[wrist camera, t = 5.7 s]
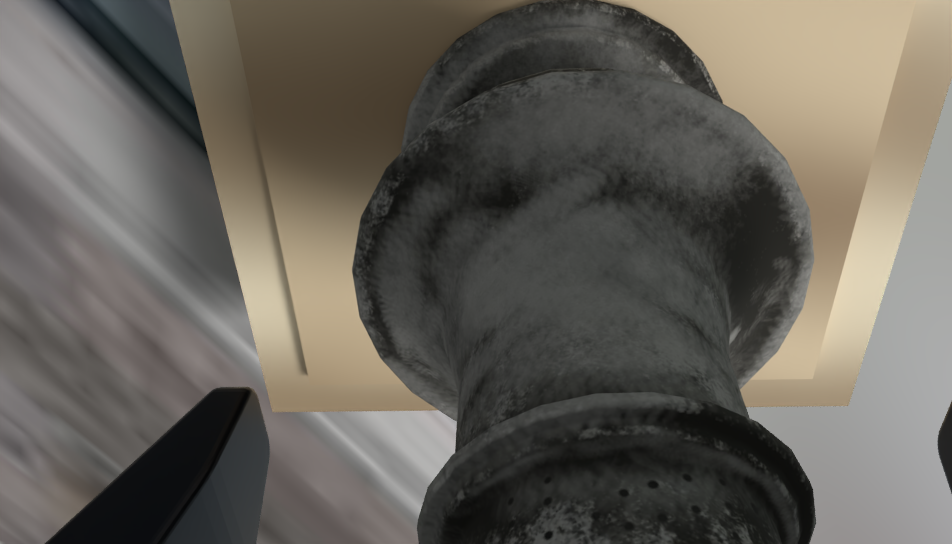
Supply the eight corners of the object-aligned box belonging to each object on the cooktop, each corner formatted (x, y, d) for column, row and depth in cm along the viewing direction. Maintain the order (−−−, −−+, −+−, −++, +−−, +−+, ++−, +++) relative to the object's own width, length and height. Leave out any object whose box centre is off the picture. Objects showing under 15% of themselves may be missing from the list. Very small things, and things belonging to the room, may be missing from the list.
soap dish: (803, 315, 19) (852, 414, 17) (300, 322, 20) (270, 420, 17) (959, -306, 12) (1083, -304, 10) (178, -273, 13) (95, -262, 10)
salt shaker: (319, 195, 14) (-93, 1366, 4) (527, -111, 11) (722, 1341, 1) (586, 349, 16) (724, 1406, 6) (824, 121, 13) (1790, 1433, 3)
